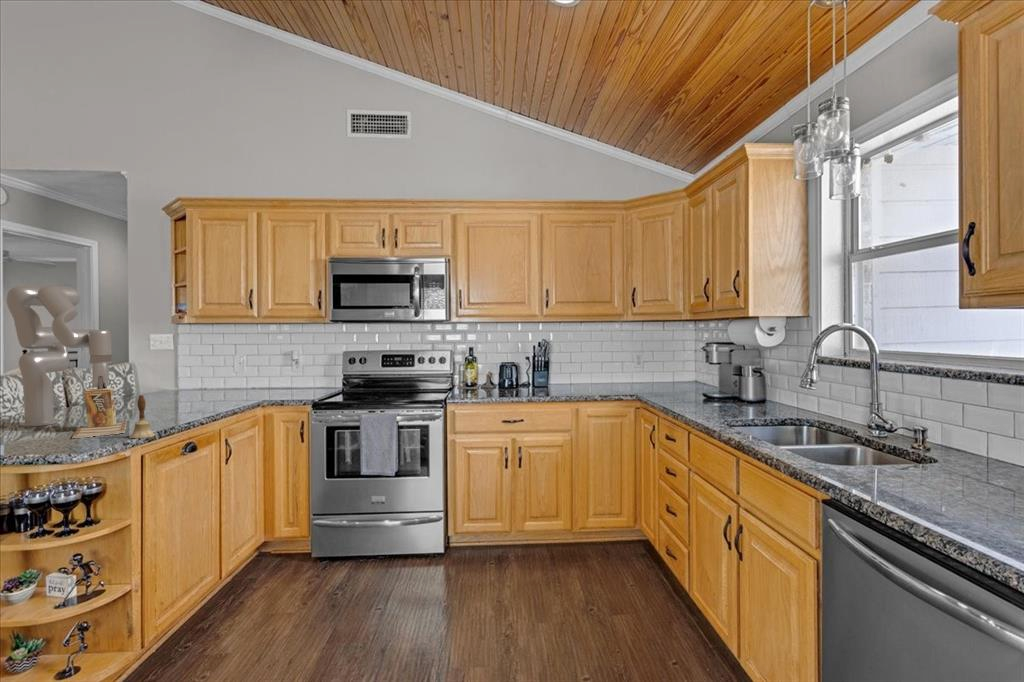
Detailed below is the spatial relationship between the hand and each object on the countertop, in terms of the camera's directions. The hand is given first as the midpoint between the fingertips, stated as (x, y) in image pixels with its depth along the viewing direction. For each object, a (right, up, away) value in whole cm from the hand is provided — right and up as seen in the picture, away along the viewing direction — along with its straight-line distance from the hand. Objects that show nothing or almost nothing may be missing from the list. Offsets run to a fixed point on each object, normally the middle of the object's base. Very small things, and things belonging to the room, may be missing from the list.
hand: (102, 403), depth 227 cm
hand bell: (+29, -11, -18) cm, 36 cm away
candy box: (+2, -9, -2) cm, 9 cm away
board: (+6, -11, -8) cm, 14 cm away
